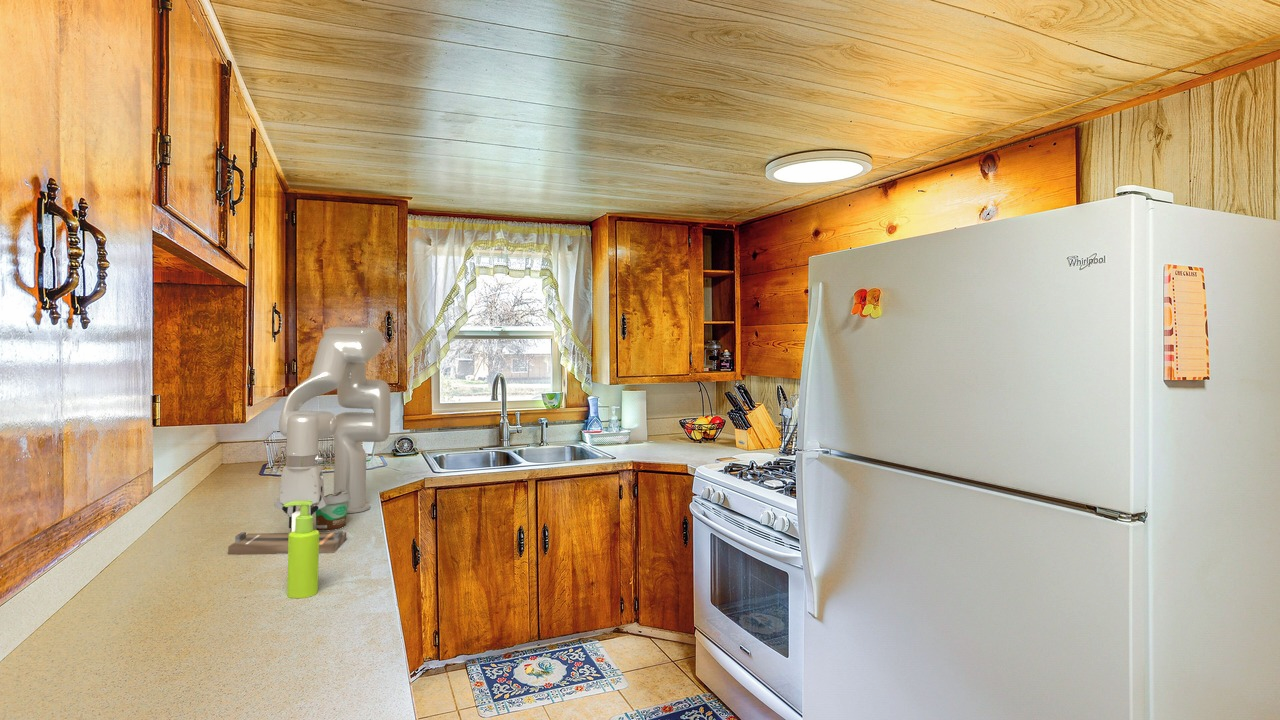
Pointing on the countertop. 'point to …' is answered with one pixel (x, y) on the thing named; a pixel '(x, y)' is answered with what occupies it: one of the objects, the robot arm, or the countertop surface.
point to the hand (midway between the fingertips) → (300, 530)
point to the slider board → (280, 543)
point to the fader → (294, 519)
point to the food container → (333, 511)
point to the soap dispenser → (303, 554)
